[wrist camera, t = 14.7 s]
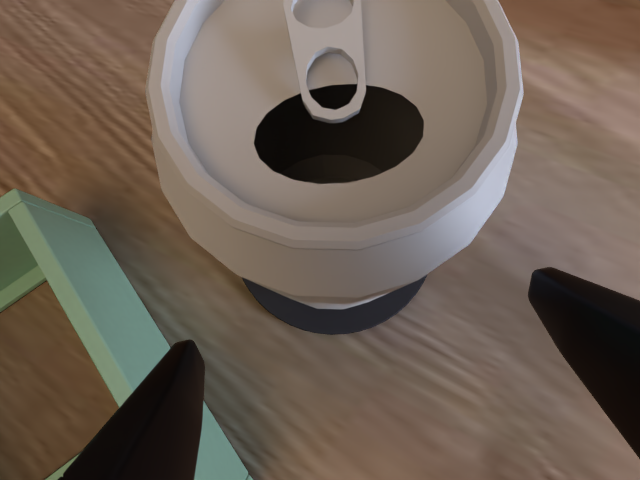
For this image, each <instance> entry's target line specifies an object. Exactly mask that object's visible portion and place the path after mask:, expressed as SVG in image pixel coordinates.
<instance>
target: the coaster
mask: <svg viewBox="0 0 640 480" xmlns="http://www.w3.org/2000/svg"><path fill="white" fill-rule="evenodd" d="M426 276H427V275H425V276H424V277H422V278H421V279H419V280H417V281H415V282H413V283H410V284H408V285H406V286H404V287H401V288H399V289H397V290H395V291H392V292H390V293H388V294H386V295H383V296H381V297H379V298H376V299H374V300H372V301H370V302H367V303H363V304H360V305H357V306H353V307H350V308H347V309H316V308H314V307H311V306H308V305H306V304H303V303H300V302H297V301H295V300H292V299H290V298H288V297H285V296H283V295H281V294H279V293H276V292H274V291H272V290H270V289H267V288H265V287H263V286H261V285H259V284H256V283H254V282H252V281H250V280H247V279H245V278H243V277H242V279H243V281H244V282H245V284H246V286H247V287H248V289H249V291H250V292H251V293H252V295H253V296H254V297H255V298H256V300H257V301H258V302H259V303H260V304H261V305H262V306H263V307H264V308H265V309H266V310H267V311H269V312H270V313H271V314H273V315H274V316H276V317H277V318H278V319H280V320H282V321H284V322H286V323H287V324H289V325H291V326H294V327H297V328H299V329H302V330H305V331H310V332H314V333H320V334H330V335H333V334H348V333H354V332H359V331H362V330H365V329H368V328H372V327H374V326H376V325H378V324H380V323H382V322H384V321H386V320H388V319H389V318H391V317H392V316H394V315H395V314H397V313H398V312H399V311H400V310H401V309H402V308H403V307H405V306H406V305H407V304H408V303H409V302H410V300H411V299H412V298H413V297H414V296H415V295H416V293H417V292H418V290H419V289H420V287H421V285H422V284H423V282H424V280H425V278H426Z"/></svg>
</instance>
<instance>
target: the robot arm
mask: <svg viewBox="0 0 640 480" xmlns="http://www.w3.org/2000/svg"><path fill="white" fill-rule="evenodd" d="M528 297H529V301H530V303H531V305H532V306H533V308H534V310H535V311H536V313H537V315H538V316H539V318H540V320H541V321H542V323H543V325H544V326H545V328H546V330H547V331H548V333H549V335H550V336H551V338H552V340H553V341H554V343H555V345H556V346H557V348H558V349H559V351H560V352H561V354H562V355H563V357H564V358H565V360H566V361H567V362H568V364H569V365H570V366H571V368H572V369H573V370H574V372H575V373H576V374H577V376H578V377H579V378H580V380H581V381H582V382H583V384H584V385H585V386H586V388H587V389H588V390H589V392H590V393H591V394H592V396H593V397H594V398H595V400H596V401H597V402H598V404H599V405H600V406H601V408H602V409H603V410H604V412H605V413H606V414H607V416H608V417H609V418H610V420H611V421H612V422H613V424H614V425H615V426H616V428H617V429H618V430H619V432H620V433H621V434H622V436H623V437H624V438H625V440H626V441H627V443H628V444H629V445H630V447H631V448H632V449H633V451H634V452H635V453H636V455H637V456H638V457H639V459H640V301H639V300H637V299H634V298H631V297H629V296H626V295H623V294H621V293H618V292H616V291H613V290H610V289H608V288H605V287H602V286H600V285H597V284H595V283H592V282H589V281H587V280H584V279H581V278H579V277H576V276H574V275H571V274H568V273H566V272H563V271H560V270H558V269H555V268H552V267H547V268H542V269H537V270H535V271H534V272H533V273H532V277H531V282H530V287H529V292H528ZM204 376H205V365H204V360H203V358H202V356H201V354H200V352H199V350H198V348H197V346H196V345H195V343H194V341H192V340H185V341H180V342H177V343H175V344H174V345H173V346H172V347H171V348H170V349H169V351H168V352H167V353H166V354H165V355H164V356H163V358H162V359H161V360H160V361H159V362H158V363H157V365H156V366H155V367H154V368H153V369H152V370H151V372H150V373H149V374H148V375H147V376H146V377H145V379H144V380H143V381H142V382H141V383H140V384H139V386H138V387H137V388H136V389H135V390H134V391H133V392H132V394H131V395H130V396H129V397H128V398H127V399H126V401H125V402H124V403H123V404H122V405H121V406H120V408H119V409H118V410H117V411H116V412H115V413H114V415H113V416H112V417H111V418H110V419H109V420H108V422H107V423H106V424H105V425H104V426H103V427H102V429H101V430H100V431H99V432H98V433H97V434H96V436H95V437H94V438H93V439H92V440H91V441H90V443H89V444H88V445H87V446H86V447H85V448H84V450H83V451H82V452H81V453H80V454H79V455H78V457H77V458H76V459H75V460H74V461H73V462H72V463H71V465H70V466H69V467H68V468H67V469H66V470H65V472H64V473H63V477H59V478H58V480H194V477H195V470H196V464H197V457H198V451H199V445H200V438H201V431H202V420H203V399H204Z"/></svg>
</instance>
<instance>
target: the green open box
mask: <svg viewBox="0 0 640 480" xmlns="http://www.w3.org/2000/svg"><path fill="white" fill-rule="evenodd" d="M46 280H47V281H48V283H49V285H50V287H51V288H52V290H53V292H54V294H55V295H56V297H57V299H58V301H59V302H60V304H61V306H62V308H63V309H64V311H65V313H66V315H67V317H68V318H69V320H70V322H71V324H72V325H73V327H74V329H75V331H76V332H77V334H78V336H79V338H80V339H81V341H82V343H83V345H84V346H85V348H86V350H87V352H88V354H89V355H90V357H91V359H92V361H93V362H94V364H95V366H96V368H97V369H98V371H99V373H100V375H101V376H102V378H103V380H104V382H105V383H106V385H107V387H108V389H109V391H110V392H111V394H112V396H113V398H114V399H115V401H116V403H117V405H118V406H119V408H120V406H121V405H122V404H123V403H124V402H125V401H126V399H127V398H128V397H129V396H130V395H131V394H132V392H133V391H134V390H135V389H136V388H137V387H138V386H139V384H140V383H141V382H142V381H143V380H144V379H145V377H146V376H147V375H148V374H149V373H150V372H151V370H152V369H153V368H154V367H155V366H156V365H157V363H158V362H159V361H160V360H161V359H162V358H163V356H164V355H165V354H166V353H167V352H168V351H169V349H170V346H169V345H168V343H167V341H166V340H165V338H164V337H163V335H162V333H161V332H160V330H159V329H158V327H157V325H156V324H155V322H154V321H153V319H152V317H151V316H150V314H149V312H148V311H147V309H146V308H145V306H144V304H143V303H142V301H141V300H140V298H139V296H138V295H137V293H136V292H135V290H134V288H133V287H132V285H131V284H130V282H129V280H128V279H127V277H126V276H125V274H124V272H123V271H122V269H121V268H120V266H119V264H118V263H117V261H116V260H115V258H114V256H113V255H112V253H111V252H110V250H109V248H108V247H107V245H106V244H105V242H104V240H103V239H102V237H101V236H100V234H99V232H98V231H97V229H96V227H95V226H94V224H93V223H92V221H91V219H89V218H87V217H84V216H82V215H80V214H77V213H75V212H72V211H70V210H67V209H65V208H62V207H60V206H57V205H55V204H53V203H50V202H48V201H45V200H43V199H40V198H38V197H35V196H33V195H30V194H28V193H26V192H23V191H21V190H18V189H12V190H11V191H9V192H8V193H6V194H5V195H3V196H2V197H0V312H1V311H3V310H4V309H6V308H7V307H9V306H10V305H12V304H13V303H14V302H16V301H17V300H19V299H20V298H22V297H23V296H25V295H26V294H27V293H29V292H30V291H32V290H33V289H35V288H36V287H38V286H39V285H40V284H42V283H43V282H45V281H46ZM79 454H80V453H79ZM79 454H78V455H79ZM78 455H77V456H75V457H74V458H73V459H72V460H70V461H69V462H68V463H66V464H65V465H64V466H62V467H61V468H60V469H58V470H57V471H56V472H54V473H53V474H52V475H50V476H49V477H48V478H46V479H45V480H58V478H59V477H63V473H64V472H65V470H66V469H67V468H68V467H69V466H70V465H71V463H72V462H73V461H74V460H75V459H76V458H77V457H78ZM194 480H253V479H252V477H251V476H250V475H248V471H247V470H246V468H245V466H244V465H243V463H242V462H241V460H240V458H239V457H238V455H237V454H236V452H235V450H234V449H233V447H232V446H231V444H230V442H229V441H228V439H227V438H226V436H225V434H224V433H223V431H222V430H221V428H220V426H219V425H218V423H217V422H216V420H215V418H214V417H213V415H212V414H211V412H210V410H209V409H208V407H207V405H206V404H205V402H204V401H203V420H202V431H201V438H200V445H199V451H198V457H197V464H196V470H195V477H194Z"/></svg>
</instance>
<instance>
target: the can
mask: <svg viewBox="0 0 640 480" xmlns="http://www.w3.org/2000/svg"><path fill="white" fill-rule="evenodd" d="M145 93H146V98H147V103H148V108H149V113H150V118H151V123H152V128H153V131H152V138H151V140H152V145H153V150H154V155H155V160H156V165H157V170H158V175H159V180H160V185H161V190H162V192H163V193H164V195H165V197H166V198H167V200H168V202H169V203H170V205H171V206H172V208H173V210H174V211H175V213H176V215H177V216H178V218H179V220H180V221H181V223H182V225H183V226H184V228H185V229H186V231H187V233H188V234H189V236H190V238H192V239H193V240H194V241H195V242H197V243H198V244H199V245H200V246H202V247H203V248H204V249H205V250H207V251H208V252H209V253H210V254H211V255H213V256H214V257H215V258H216V259H218V260H219V261H220V262H221V263H223V264H224V265H225V266H226V267H227V268H229V269H230V270H231V271H232V272H234V273H235V274H236V275H238V276H241V277H243V278H245V279H247V280H250V281H252V282H254V283H256V284H259V285H261V286H263V287H265V288H267V289H270V290H272V291H274V292H276V293H279V294H281V295H283V296H285V297H288V298H290V299H292V300H295V301H297V302H300V303H303V304H306V305H308V306H311V307H314V308H316V309H347V308H350V307H353V306H357V305H360V304H363V303H367V302H370V301H372V300H374V299H376V298H379V297H381V296H383V295H386V294H388V293H390V292H392V291H395V290H397V289H399V288H401V287H404V286H406V285H408V284H410V283H413V282H415V281H417V280H419V279H421V278H422V277H424V276H425V275H427V274H428V273H429V272H431V271H432V270H434V269H435V268H437V267H438V266H439V265H441V264H442V263H444V262H445V261H446V260H448V259H449V258H451V257H452V256H454V255H455V254H456V253H458V252H459V251H461V250H462V249H463V248H465V247H466V246H468V245H469V244H470V243H471V242H472V240H473V239H474V237H475V236H476V235H477V233H478V232H479V230H480V229H481V227H482V226H483V225H484V223H485V222H486V220H487V219H488V218H489V216H490V215H491V213H492V212H493V210H494V209H495V208H496V206H497V205H498V203H499V202H500V201H501V199H502V198H503V196H504V192H505V189H506V185H507V181H508V177H509V174H510V170H511V166H512V162H513V159H514V155H515V151H516V147H517V144H518V142H517V132H516V120H517V116H518V113H519V109H520V105H521V102H522V98H523V94H524V92H523V83H522V73H521V63H520V54H519V44H518V40H517V38H516V36H515V34H514V32H513V30H512V28H511V26H510V24H509V22H508V20H507V18H506V15H505V13H504V11H503V9H502V7H501V5H500V3H499V1H498V0H174V2H173V4H172V6H171V8H170V10H169V12H168V14H167V16H166V17H165V19H164V21H163V23H162V25H161V27H160V29H159V31H158V33H157V34H156V36H155V38H154V40H153V44H152V50H151V57H150V63H149V69H148V76H147V82H146V89H145Z"/></svg>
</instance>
